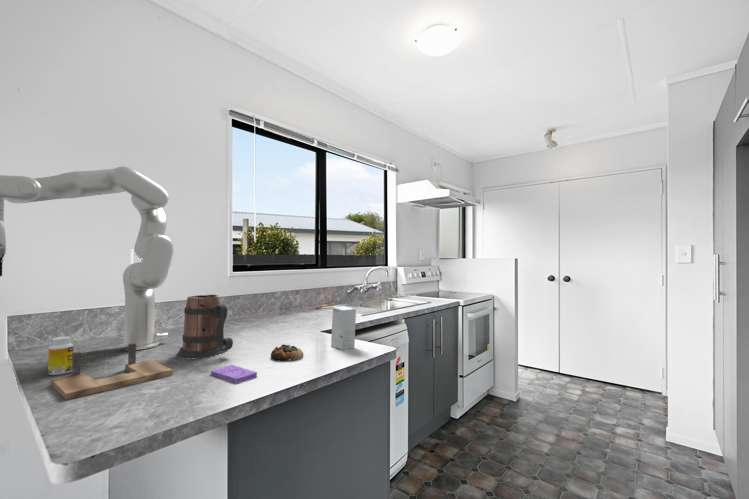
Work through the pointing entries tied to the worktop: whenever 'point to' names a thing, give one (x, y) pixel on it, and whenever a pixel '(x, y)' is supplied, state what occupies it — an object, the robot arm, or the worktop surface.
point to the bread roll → (286, 353)
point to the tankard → (204, 328)
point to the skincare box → (343, 327)
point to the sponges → (234, 373)
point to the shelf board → (85, 385)
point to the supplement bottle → (60, 356)
